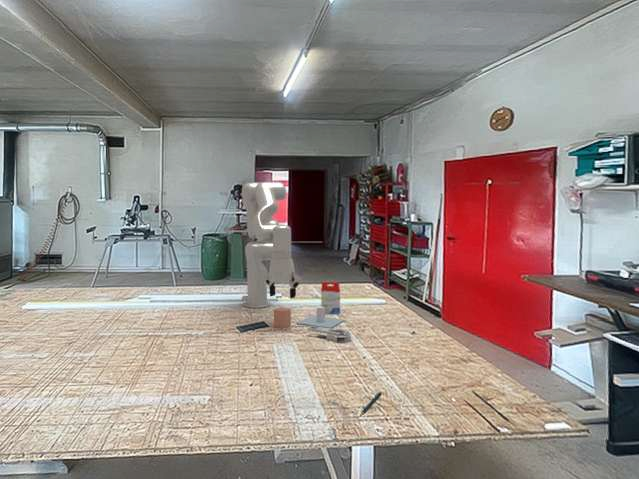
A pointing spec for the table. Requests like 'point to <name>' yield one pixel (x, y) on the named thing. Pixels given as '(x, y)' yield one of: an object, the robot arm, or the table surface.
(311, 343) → the table surface
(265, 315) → the table surface
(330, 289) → the ink box
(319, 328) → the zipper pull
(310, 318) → the post fixture
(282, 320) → the salmon pink block
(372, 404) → the pencil
